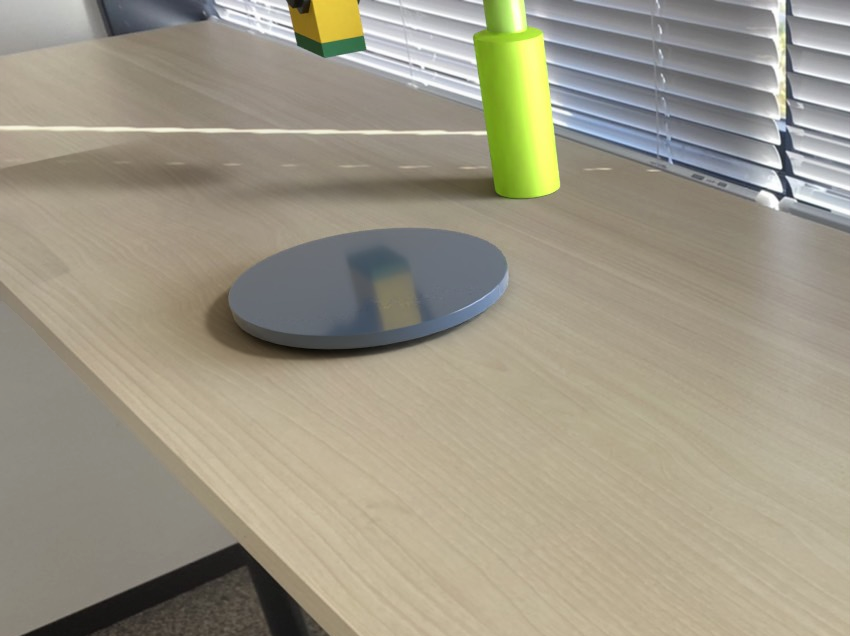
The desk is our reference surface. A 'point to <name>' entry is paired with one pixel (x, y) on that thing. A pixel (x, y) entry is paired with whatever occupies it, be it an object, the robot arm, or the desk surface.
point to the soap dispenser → (516, 102)
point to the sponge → (329, 28)
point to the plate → (369, 288)
